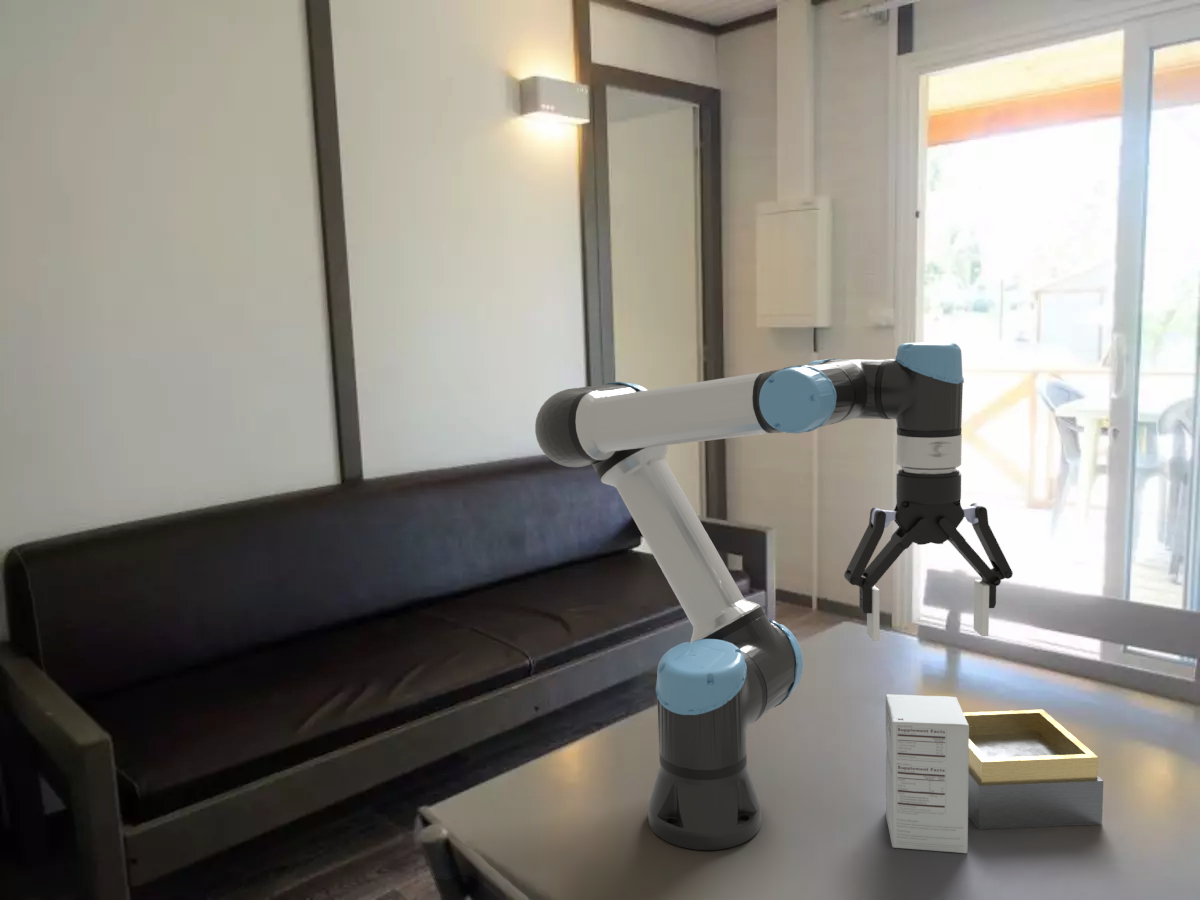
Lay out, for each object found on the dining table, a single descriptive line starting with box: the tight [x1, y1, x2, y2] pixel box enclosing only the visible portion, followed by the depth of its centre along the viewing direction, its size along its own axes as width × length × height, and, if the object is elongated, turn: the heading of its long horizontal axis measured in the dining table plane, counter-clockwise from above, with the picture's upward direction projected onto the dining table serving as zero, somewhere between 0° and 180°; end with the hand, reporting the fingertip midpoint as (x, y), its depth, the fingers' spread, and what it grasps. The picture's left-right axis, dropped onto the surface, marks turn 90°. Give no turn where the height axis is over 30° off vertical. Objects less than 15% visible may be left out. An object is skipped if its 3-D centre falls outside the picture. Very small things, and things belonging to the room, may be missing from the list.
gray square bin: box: [963, 709, 1104, 830], centre depth 129 cm, size 16×16×9 cm
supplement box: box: [885, 693, 969, 854], centre depth 120 cm, size 10×9×17 cm
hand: (927, 635), depth 118 cm, fingers open, 13 cm apart
